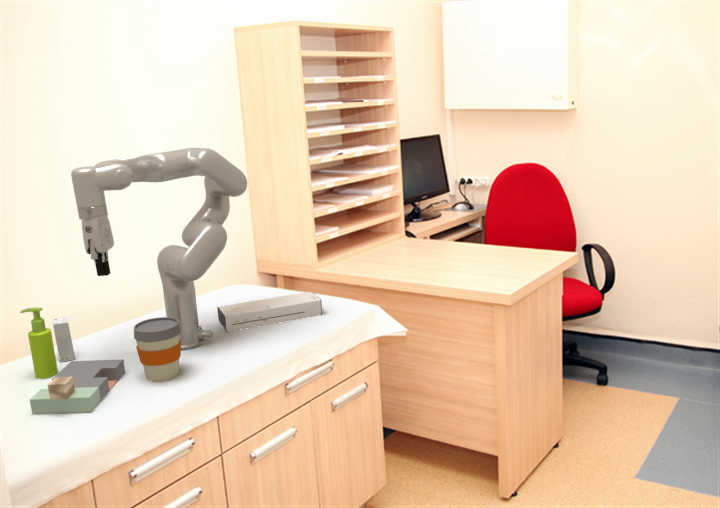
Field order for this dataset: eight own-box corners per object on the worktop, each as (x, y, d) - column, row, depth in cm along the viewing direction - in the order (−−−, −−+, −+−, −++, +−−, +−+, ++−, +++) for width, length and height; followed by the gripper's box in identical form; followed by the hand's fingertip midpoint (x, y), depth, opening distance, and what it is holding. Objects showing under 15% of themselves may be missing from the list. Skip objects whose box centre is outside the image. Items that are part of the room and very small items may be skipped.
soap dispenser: (36, 371, 191) (25, 306, 186) (60, 369, 192) (50, 304, 187) (28, 379, 186) (16, 312, 181) (53, 377, 186) (42, 311, 181)
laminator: (225, 333, 216) (224, 315, 215) (218, 322, 227) (216, 305, 226) (322, 316, 229) (321, 299, 228) (310, 306, 240) (309, 290, 239)
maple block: (75, 391, 167) (72, 376, 166) (67, 398, 163) (65, 384, 162) (58, 391, 168) (55, 377, 167) (50, 399, 163) (47, 384, 162)
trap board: (125, 372, 188) (123, 359, 187) (91, 412, 164) (89, 397, 163) (73, 374, 188) (71, 361, 187) (32, 414, 165) (29, 399, 164)
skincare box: (75, 359, 198) (69, 322, 196) (59, 362, 197) (52, 324, 194) (74, 353, 204) (68, 316, 201) (58, 356, 202) (52, 318, 199)
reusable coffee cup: (194, 368, 188) (189, 319, 185) (165, 387, 177) (159, 334, 173) (160, 363, 193) (154, 315, 190) (129, 380, 182) (122, 329, 179)
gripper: (96, 216, 174) (108, 282, 179) (115, 205, 189) (125, 266, 194) (68, 218, 174) (80, 284, 179) (89, 207, 189) (100, 268, 194)
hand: (104, 274), depth 186 cm, fingers closed
